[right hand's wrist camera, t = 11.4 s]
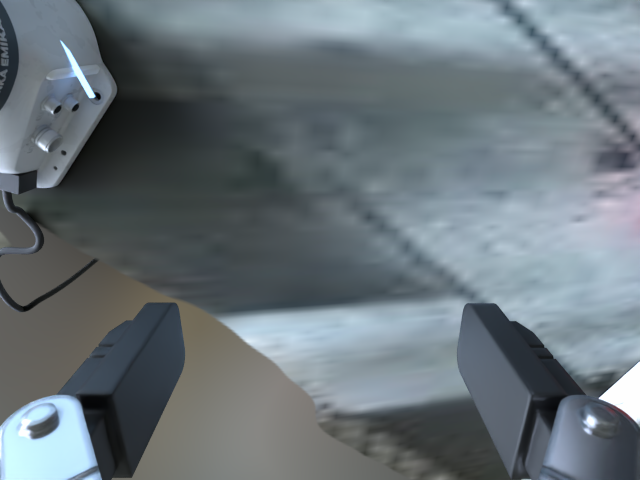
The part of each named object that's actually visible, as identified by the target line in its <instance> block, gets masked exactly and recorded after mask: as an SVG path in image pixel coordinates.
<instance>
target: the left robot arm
mask: <svg viewBox="0 0 640 480" xmlns="http://www.w3.org/2000/svg"><path fill="white" fill-rule="evenodd" d="M97 93H99V94H100V95H101V99H100V100H99V99H98V98H97V97H96V94H97ZM116 94H117V86H116V83H115V81H114V79H113V77H112V75H111V74H110V72H109V71H108V69H107V68H106V66H105V65H104V63H103V61H102V59H101V55H100V52H99V48H98V44H97V40H96V36H95V33H94V31H93V28H92V26H91V24H90V22H89V20H88V18H87V16H86V15H85V13H84V11H83V10H82V8H81V7H80V6H79V4H78V3H77V2H76V1H75V0H0V189H1V190H2V193H3V200H4V203H5V206H6V208H7V209H8V211H10V212H12V213H17V214H18V215H19V216H20V217H21V218H22V219H23V220H24V221H25V222H26V224H27V225H28V226H29V227H30V228H31V229H32V231H33V232H34V234H35V237H36V243H35V245H34V246H33V247H29V248H15V247H7V248H1V249H0V257H1V256H2V255H4V254H33V253H36V252H38V251H39V250H40V249H41V248H42V246H43V244H44V237H43V233H42V231H41V229H40V228H39V226H38V225H37V224H36V222H35V221H34V220H33V219H32V218H31V217H30V216H29V215H28V214H27V213H26V212H25V211H24V210H23V209H22V208H20V207H17V206H15V205H14V204H13V200H12V194H11V192H12V193H15V194H21V193H24V192H26V191H29V190H32V189H34V188H49V187H54V186H57V185H58V184H59V183H60V182H61V181H62V179H63V177H64V176H65V174H66V173H67V171H68V170H69V168H70V167H71V165H72V163H73V162H74V160H75V159H76V157H77V156H78V154H79V152H80V151H81V149H82V148H83V146H84V145H85V143H86V141H87V140H88V138H89V137H90V135H91V134H92V132H93V130H94V129H95V127H96V126H97V124H98V123H99V121H100V120H101V118H102V116H103V115H104V113H105V112H106V110H107V109H108V107H109V105H110V104H111V102H112V101H113V99H114V98H115V96H116ZM98 261H99V260H98V259H96V258H94V259H93V260H92V261H91V262H89V263H88V264H87V265H85V266H84V267H83V268H82V269H81V270H79V271H78V272H77V273H75V274H74V275H73V276H72V277H70V278H69V279H68V280H66V281H65V282H63V283H62V284H60V285H59V286H57V287H56V288H54V289H52V290H51V291H49V292H47V293H45V294H43V295H42V296H40V297H38V298H36V299H35V300H34V301H32V302H31V303H29V304H28V305H26V306H20V305H18V304H17V303H16V302H15V301H14V300H12V298H11V297H10V296H9V295H8V293H7V292H6V291H5V289H4V287H3V285H2V283H1V281H0V297H1V298H2V299H3V300H4V302H5V303H6V304H7V305H9V306H10V307H11V308H12V309H14V310H15V311H18V312H26V311H29V310H31V309H32V308H34V307H35V306H36V305H38V304H39V303H41V302H42V301H44V300H46V299H47V298H49V297H51V296H53V295H54V294H56V293H57V292H59V291H60V290H62V289H63V288H65V287H66V286H68V285H69V284H70V283H72V282H73V281H74V280H76V279H77V278H78V277H79V276H81V275H82V274H83V273H84V272H86V271H87V270H88V269H89V268H90V267H92V266H93V265H94V264H95V263H96V262H98Z"/></svg>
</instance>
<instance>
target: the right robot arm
mask: <svg viewBox="0 0 640 480" xmlns="http://www.w3.org/2000/svg"><path fill="white" fill-rule="evenodd" d="M184 361H185V347H184V340H183V334H182V327H181V320H180V313H179V308H178V306H177V304H176V303H147V304H145V305H144V307H143V308H142V309H141V311H140V312H139V313H138V314H137V316H136V317H135V318H134V320H133V321H125V322H124V323H122V324H120V325H119V326H117V327H116V328H114V329H113V330H111V331H110V332H109V333H108V334H107V335H106V336H105V338H104V339H103V340H102V341H101V342H100V344H99V347H96V348H95V349H94V351H93V352H92V353H91V354H90V357H89V358H87V359H86V360H85V361H84V363H83V364H82V365H81V366H80V367H79V369H78V370H77V371H76V372H75V373H74V375H73V376H72V377H71V378H70V379H69V380H68V382H67V383H66V384H65V385H64V386H63V388H62V389H61V390H60V391H59V392H58V394H57V395H54V396H49V397H45V398H42V399H38V400H36V401H34V402H31V403H29V404H27V405H25V406H23V407H22V408H20V409H19V410H17V411H16V412H14V413H13V414H12V415H11V416H10V417H8V418H7V419H6V421H5V422H4V423H3V424H2V425H1V427H0V480H111V479H112V478H132V476H133V474H134V472H135V470H136V468H137V466H138V464H139V461H140V459H141V457H142V455H143V453H144V451H145V449H146V447H147V445H148V442H149V440H150V438H151V436H152V434H153V432H154V430H155V428H156V426H157V424H158V421H159V419H160V417H161V415H162V413H163V411H164V409H165V407H166V405H167V402H168V400H169V398H170V396H171V394H172V392H173V390H174V388H175V386H176V383H177V381H178V379H179V377H180V375H181V373H182V370H183V367H184ZM457 361H458V367H459V371H460V373H461V376H462V378H463V380H464V382H465V384H466V386H467V388H468V390H469V392H470V394H471V396H472V399H473V401H474V403H475V405H476V407H477V409H478V411H479V413H480V415H481V417H482V419H483V421H484V424H485V426H486V428H487V430H488V432H489V434H490V436H491V438H492V440H493V442H494V444H495V446H496V449H497V451H498V453H499V455H500V457H501V459H502V461H503V463H504V465H505V467H506V469H507V471H508V474H509V476H510V478H511V479H531V480H640V427H639V425H638V424H637V423H636V422H635V420H634V419H633V418H632V417H630V416H629V415H628V414H627V413H626V412H624V411H623V410H621V409H620V408H618V407H617V406H615V405H613V404H611V403H609V402H606V401H604V400H602V399H598V398H595V397H591V396H587V395H586V394H585V393H584V392H583V391H582V390H581V388H580V387H579V386H578V385H577V384H576V382H575V381H574V380H573V379H572V378H571V377H570V375H569V374H568V373H567V372H566V371H565V369H564V368H563V367H562V366H561V365H560V364H559V362H558V361H557V360H556V359H553V355H552V354H551V353H550V352H549V351H548V349H547V348H544V345H543V344H542V342H541V341H540V340H539V339H538V338H537V336H536V335H535V334H534V333H533V332H532V331H530V330H529V329H527V328H526V327H524V326H522V325H521V324H519V323H518V322H516V321H509V320H508V318H507V317H506V316H505V314H504V313H503V312H502V311H501V309H500V308H499V307H498V306H497V305H496V304H494V303H467V304H466V305H465V307H464V309H463V315H462V322H461V328H460V335H459V342H458V348H457Z"/></svg>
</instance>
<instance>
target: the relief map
mask: <svg viewBox="0 0 640 480" xmlns="http://www.w3.org/2000/svg"><path fill="white" fill-rule="evenodd" d="M599 399H602V400H604V401H606V402H609V403H611V404H613V405H615V406H617V407H618V408H620V409H621V410H623V411H624V412H626V413H627V414H628V415H629V416H630V417H632V418H633V419H634V420H635V422H636V423H637V424H638V425H639V427H640V362H639V363H638V364H637V365H636V366H634V367H633V368H632V369H631V370H630V371H629V372H628V373H627V374H625V375H624V376H623V377H622V378H621V379H620V380H619V381H618V382H617V383H615V384H614V385H613V386H612V387H611V388H610V389H609V390H608V391H607V392H605V393H604V394H603V395H602V396H601V397H600V398H599ZM521 480H531V479H521Z"/></svg>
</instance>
